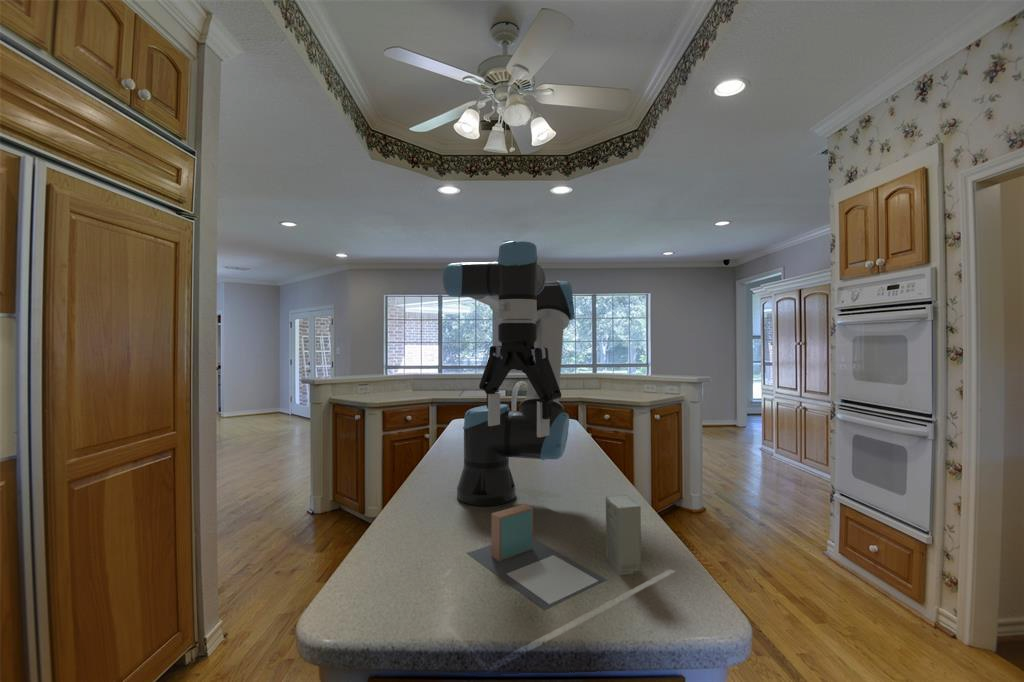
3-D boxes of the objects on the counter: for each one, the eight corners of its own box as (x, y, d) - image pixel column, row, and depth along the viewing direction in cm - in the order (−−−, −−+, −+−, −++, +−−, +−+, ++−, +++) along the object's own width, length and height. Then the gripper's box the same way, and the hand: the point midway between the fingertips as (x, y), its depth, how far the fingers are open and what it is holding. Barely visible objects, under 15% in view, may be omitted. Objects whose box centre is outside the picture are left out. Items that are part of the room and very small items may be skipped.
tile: (491, 556, 84) (491, 513, 84) (524, 544, 89) (525, 503, 89) (499, 562, 82) (499, 518, 82) (533, 549, 87) (533, 507, 87)
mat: (466, 556, 85) (466, 552, 85) (524, 536, 94) (524, 533, 94) (544, 613, 68) (544, 609, 68) (606, 583, 76) (606, 579, 76)
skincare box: (642, 576, 78) (642, 506, 78) (617, 579, 77) (618, 508, 77) (627, 558, 84) (627, 494, 84) (604, 560, 84) (604, 495, 84)
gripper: (462, 322, 95) (462, 423, 95) (553, 321, 77) (553, 445, 77) (489, 323, 100) (489, 418, 100) (580, 321, 82) (580, 437, 83)
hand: (517, 430), depth 89 cm, fingers open, 13 cm apart
